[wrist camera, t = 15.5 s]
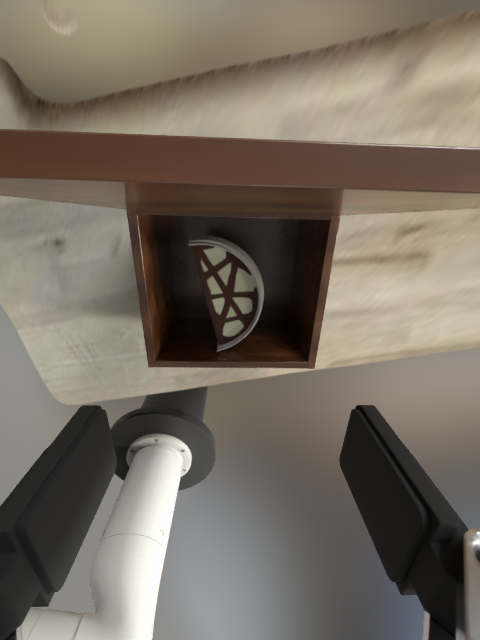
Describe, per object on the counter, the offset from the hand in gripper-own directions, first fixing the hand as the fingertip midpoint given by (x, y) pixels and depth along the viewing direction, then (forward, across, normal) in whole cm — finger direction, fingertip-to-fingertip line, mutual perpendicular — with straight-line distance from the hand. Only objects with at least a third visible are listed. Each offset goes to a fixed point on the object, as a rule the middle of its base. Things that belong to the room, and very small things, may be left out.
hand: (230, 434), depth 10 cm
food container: (+26, 0, -1) cm, 27 cm away
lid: (+7, 0, -8) cm, 10 cm away
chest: (+27, 0, -1) cm, 27 cm away
